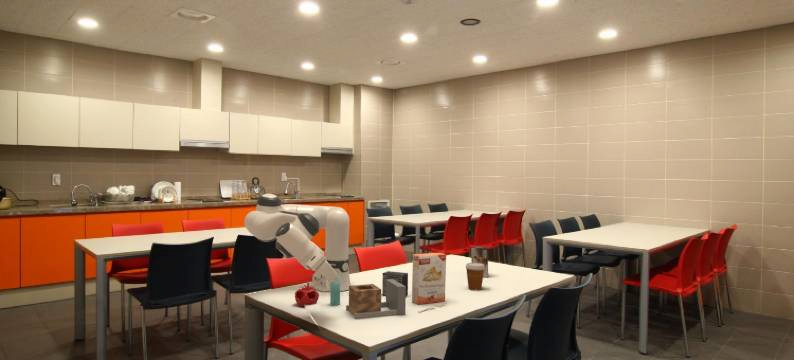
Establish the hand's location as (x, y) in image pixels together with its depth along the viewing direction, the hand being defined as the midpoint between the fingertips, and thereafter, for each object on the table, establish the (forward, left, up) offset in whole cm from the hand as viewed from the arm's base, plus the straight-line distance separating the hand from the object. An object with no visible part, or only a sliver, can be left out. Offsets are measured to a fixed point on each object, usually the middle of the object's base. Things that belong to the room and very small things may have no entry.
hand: (337, 282), depth 185 cm
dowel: (-12, +11, -14) cm, 22 cm away
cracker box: (+12, +44, -14) cm, 48 cm away
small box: (-6, +43, -14) cm, 45 cm away
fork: (+19, +32, -15) cm, 40 cm away
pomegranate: (-24, +6, -14) cm, 28 cm away
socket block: (+5, +10, -13) cm, 17 cm away
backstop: (+6, +11, -14) cm, 19 cm away
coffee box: (+2, +107, -14) cm, 108 cm away
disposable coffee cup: (+15, +79, -14) cm, 81 cm away
